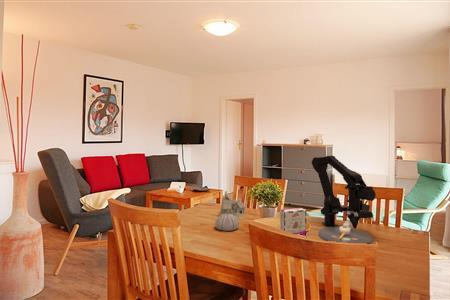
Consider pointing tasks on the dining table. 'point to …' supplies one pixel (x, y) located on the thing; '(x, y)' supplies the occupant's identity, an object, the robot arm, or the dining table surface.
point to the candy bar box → (293, 221)
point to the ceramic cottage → (232, 206)
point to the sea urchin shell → (227, 222)
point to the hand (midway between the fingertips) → (355, 228)
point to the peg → (345, 229)
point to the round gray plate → (354, 236)
